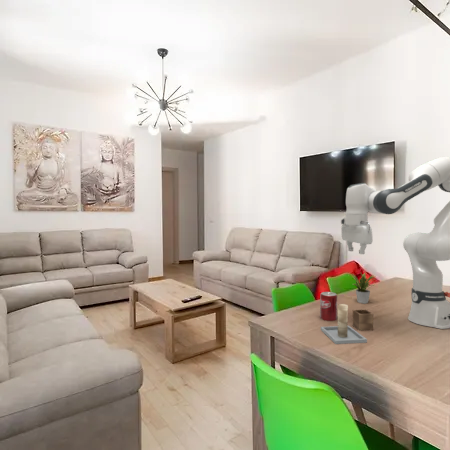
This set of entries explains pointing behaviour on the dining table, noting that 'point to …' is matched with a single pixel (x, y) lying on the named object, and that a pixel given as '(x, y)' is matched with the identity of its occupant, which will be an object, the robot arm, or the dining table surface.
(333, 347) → the dining table surface
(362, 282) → the house plant
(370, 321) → the brown wooden box
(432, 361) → the dining table surface
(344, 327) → the dowel
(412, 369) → the dining table surface
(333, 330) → the tray
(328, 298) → the soda can
